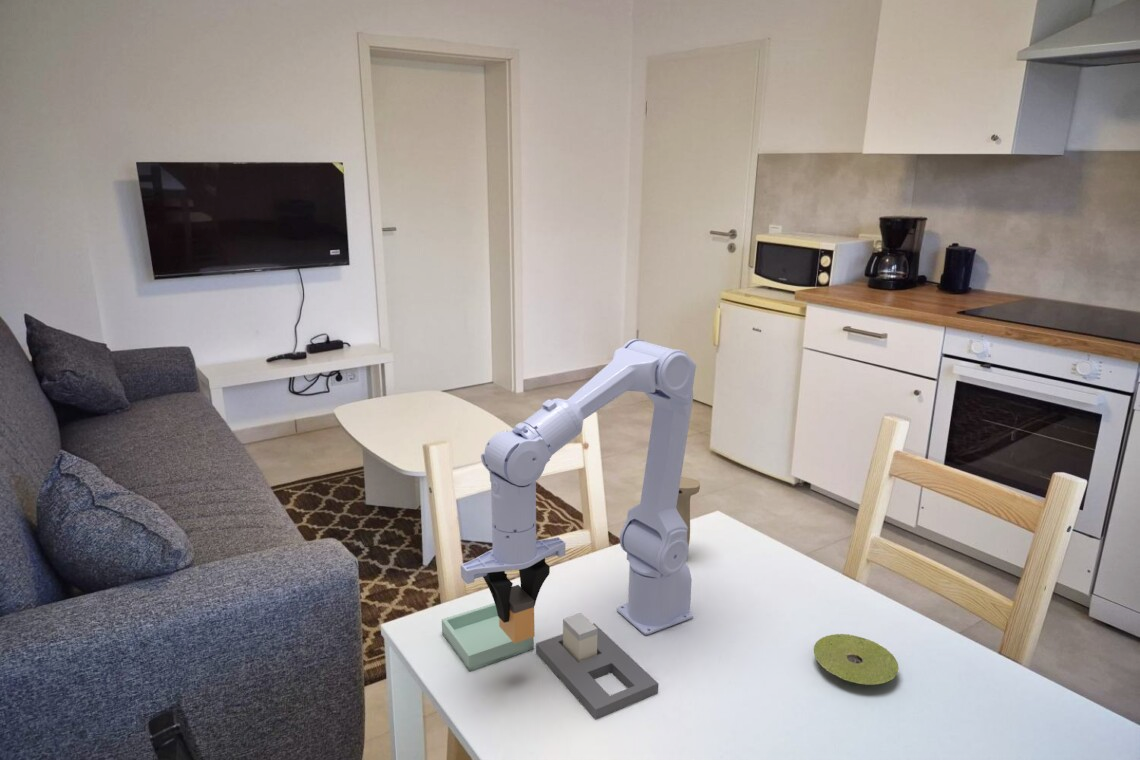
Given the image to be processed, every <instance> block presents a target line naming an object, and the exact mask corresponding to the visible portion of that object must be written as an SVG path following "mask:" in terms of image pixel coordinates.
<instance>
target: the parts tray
mask: <svg viewBox="0 0 1140 760" xmlns="http://www.w3.org/2000/svg"><path fill="white" fill-rule="evenodd" d="M441 634H442V636H443V637H444V638H445V639H446V641H447V643H448V644H449V645H450V647H451V648H452V649H453V651H454V652H455V654H456V655H457V656H458V658H459V659H460V661H461V662H462V663H463V665H464V666H465V667H466V668H467V670H468V672H472V671H476V670H477V669H480V668H483V667H486V666H489V665H492V664H494V663H497V662H500V661H503V660H506V659H509V658H512V657H514V656H517V655H520V653H521V654H523V653H526V652H529V651H532V650H534V649H535V648H534V647H535V645H534V642H535V640H534V639H535V636H534V637H532V638H529V639H526V640H523V641H520V642H518V643H515V644H514V643H513V641H512V640H511V639H510V638H509V637H508V636H507V635H506V633H505V632H504V631H503V630H502V629H501V628H500V627H499V617H498V614H497V609H496V605H495V602H493V603H490V604H487V605H484V606H481V607H478V608H474V609H471V610H467V611H464V612H462V613H458V614H454V615H451V616H449V617H444V618H442V619H441ZM528 650H529V651H528Z"/></svg>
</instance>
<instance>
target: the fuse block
mask: <svg viewBox="0 0 1140 760" xmlns="http://www.w3.org/2000/svg"><path fill="white" fill-rule="evenodd" d="M592 624H593V625H594V626H595V627H597V628H598V629H597V655H596V656H593V657H591V658H588V659H585V660H583V661H580V662H577V661H576V660H575V659H574V658H573V657H572V656H571V654H570V653H569V652H568V651H567V650H566V649H565V648H564V647H563V633H562V634H558V635H556V636H553V637H550V638H548V639H545V640H542V641H539V642H536V643H535V653H536V654H537V656H539V658H540V659H541V660H542V661H543V662H544V663H545V664H546V665H547V666H548V668H550V670H551V671H552V673H554V675H555V676H556V677H557V678H558V679H559V680H560V681H561V683H563V685H565V687H566V688H567V689H568V690H569V691H570V692H571V694H573V695H574V697H575V699H577V700H578V701H579V703H580V704H581V705H582V706H583V707H584V709H586V711H588V713H589V714H590V715H591V716H592V717H593V718H594V720H599V719H600V718H602V717H604V716H607V715H610V714H611V713H614V712H617V711H619V710H621V709H623V708H625V707H627V706H628V707H629V706H630V705H633V704H635V703H638V702H640V701H642V700H644V699H647V698H649V697H652V696H654V695H657V694H659V682H658V681H657V680H656V679H654V678H653V677H652V675H650V674H649V673H648V672H647V671H646V670H645V669H644V668H643V667H642V666H641V665H639V663H637V662H636V661H635V660H634V659H633V658H632V657H631V656H630V655H629V653H627V652H626V651H624V650H623V649H622V647H620V646H619V645H618V644H617V642H615V641H614V640H613V639H612V638H611V637H609V636H608V634H606V633H605V632H604V631H603V630H602V629H601V628H600V627H599V626H598V625H597V624H595V622H592ZM610 673H612V674H613V675H614V676H615V677H616V678H617V680H619V681H620V682H621V683H622V684H623V685H624V686H625V687H626V688H625V689H624V690H620V691H618V692H616V693H614V694H611V695H610V694H609V693H608V692H607V691H606V690H605V689H604V688H603V687H602V686H601V685H600V684H599V683H598V682H597V681H596V679H598V678H600V677H602V676H605V675H608V674H610Z"/></svg>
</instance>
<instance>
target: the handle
mask: <svg viewBox="0 0 1140 760" xmlns="http://www.w3.org/2000/svg"><path fill="white" fill-rule="evenodd" d="M700 487H701V483H700V481H699V480H697V479H694V478H691V477H686V476H683V477H682V476H681V480H680V487H679V493H678V499H677V506H676V509H677V511H678V513H679V514H680V516H681V517H682V519H683V521H684V522H685V524H686V525H687V528H688V530H687V542H688V547H690V541H691V539H690V538H691V497H692V496H694V495H696V494H698V493H699V492H700Z"/></svg>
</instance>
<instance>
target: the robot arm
mask: <svg viewBox="0 0 1140 760" xmlns="http://www.w3.org/2000/svg"><path fill="white" fill-rule="evenodd" d="M696 368H697V365H696V363H695V362H694V361H693V359H692V358H691V357H690V356H689V354H688V353H687V352H686V351H684V350H682V349H678V348H677V349H674V348H670V347H666V346H663V345H659V344H655V343H653V342H652V343H651V342H647V341H645V340H643V339H641V338H633V339H630V340H628V341H627V342H626V343H625V344H624V345H622V347H619V348H617V349H616V350H614V353H613V357H612V360H611V361H610V362H609V363H608V364H606V366H604V367H603V368H602V369H601V370H600V371H598V373H596V374H595V375H594V376H593V377H591V379H589V380H588V381H587V382H586V383H585V384H583V385H582V386H581V387H579V389H578V390H577V391H575V393H573V394H572V395H571V396H570V397H569V398H568V399H564V398H557V397H556V398H553V399H547V400H545V401H544V402H543V403H541V406H542V407H541V408H540V409H538V410H537V411H535V412H534V413H533V414H531V415H530V416H529V417H527V418H526V419H525V420H524V421H522V422H521V421H520V422H519V423H517V424H516V425H515V426H514V427H513V429H511V430H506V431H504V430H501V431H499V432H498V433H496V434H494V435H493V436H492V437H491V438H489V440H488V442H487V443H486V445H485V449H484V453H481V455H480V458H481V462H482V465H483V466H484V467H485V469H486V470H487V471H488V472H489V482H490V486H491V487H490V489H491V490H490V493H491V495H490V496H491V528H492V530H491V532H492V534H491V537H492V538H491V539H492V549H490V550H488V551H486V552H484V553H483V554H481V555H479V556H477V557H476V558H473V559H471V560H469V561H467V562H464V563H463V562H462V563H461V564H460V578H461V579H462V581H464V582H465V584H467V585H469V584H472V583H474V582H475V579H480V578H483V580H484V582H485V583H486V585H487V587H488V589H489V591H490V594H491V596H492V598H493V601H494V602H493V603H495V605H496V609H497V614H498V617H499V618H500V619H501V620H502V621H503V622H504V623H505V622H508V621H509V617H510V608H509V600H510V592H511V588H512V587H513V586H514V585H513V584H514V583H513V581H511V580H510V579H509V578H508V574H507V573H505V572H508V571H509V572H511V571H519V581H520V587H521V588H522V589H523V590H524V591H525V592H526V593H527V594H528V595H529V596H530V597H531V598H532V599H533V600H534V607H535V606H536V602H537V599H538V597H539V596H538V595H539V593H540V591H541V589H542V586H543V584H544V583H545V581H546V579H547V578H548V576H549V575H550V571H551V570H550V568H551V567H550V566H549V564H547V562H546V559H548V558H551V557H554V556H555V557H558V558H562V557H565V556H566V542H565V541H564V540H563V539H562V538H560V537H558V536H557V537H552V538H546V539H537V482H536V481H538V480H539V479H540V477H542V474H543V473H544V470H545V467H546V465H547V464H548V463H549V462H550V461H551V458H552V456H553V455H555V454H556V453H558V451H560V450H561V449H563V448H564V447H565V446H566V445H568V443H570V442H571V441H573V440H574V439H576V438H577V436H579V435H580V434H581V433H582V431H583V425H584V420H585V419H587V418H588V417H590V416H592V415H593V414H594V413H596V412H598V411H599V410H600V409H602V408H604V407H605V406H607V405H608V404H610V403H612V402H613V401H614V400H615V399H617V398H618V397H620V396H621V395H623V394H624V393H626V392H642V393H644V394H645V396H647V397H648V399H650V401H651V402H652V403H653V406H654V407H653V413H652V419H651V428H650V435H649V441H648V449H647V455H646V461H645V469H644V475H643V483H642V488H641V489H642V490H641V496H640V503H639V504H637V505H635V506H633V507H631V508H629V509H628V511H627V516H626V520H625V522H624V524H623V526H622V529H621V530H620V534H619V544H620V547H621V549H622V550H623V552H625V553H626V560H627V561H628V562H629V565H628V566H629V568H628V569H629V570H628V598H627V599H628V602H627V603H625V604H623V605H620V606H617V607H616V612H618V613H619V614H620V615H622V617H624V618H625V619H626V620H627V621H628V622H629V623H630V624H632V625H633V626H634V627H635V628H636V629H637V630H638V631H640V632H641V633H642V634H643V635H645V636H646V635H650V634H651V635H652V634H653V633H656V632H658V631H661V630H664V629H666V628H670V627H672V626H674V625H677V624H680V623H683V622H686V621H688V620H691V619H693V618H694V614H693V613H692V612H691V600H692V599H691V597H692V596H691V595H692V575H691V571H690V568H689V566H688V564H687V563H686V561H687V559H688V555H689V547H690V546H689V547H688V542H687V530H688V528H687V525H686V524H685V522H684V521H683V519H682V517H681V516H680V514H679V513H678V511H677V509H676V506H677V499H678V493H679V487H680V480H681V477H682V472H683V464H684V460H685V452H686V447H687V440H688V435H689V429H690V428H689V427H690V422H691V414H692V409H693V400H694V381H695V376H696Z"/></svg>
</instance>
